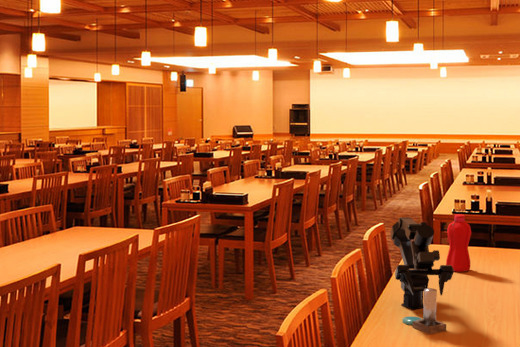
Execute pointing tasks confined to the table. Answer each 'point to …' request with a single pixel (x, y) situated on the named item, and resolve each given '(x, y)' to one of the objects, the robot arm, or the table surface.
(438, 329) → the open brown square box
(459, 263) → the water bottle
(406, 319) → the shiny teal dome
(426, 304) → the peg
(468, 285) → the table surface
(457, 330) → the table surface
